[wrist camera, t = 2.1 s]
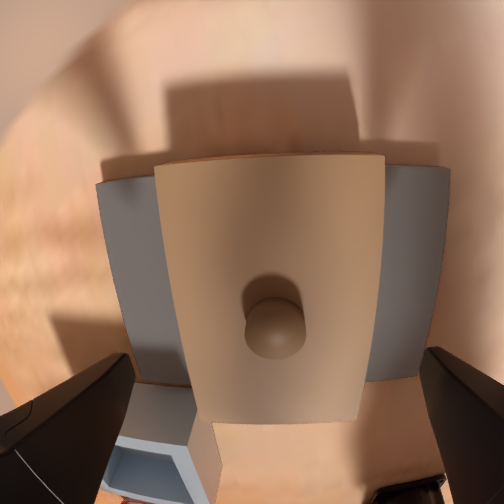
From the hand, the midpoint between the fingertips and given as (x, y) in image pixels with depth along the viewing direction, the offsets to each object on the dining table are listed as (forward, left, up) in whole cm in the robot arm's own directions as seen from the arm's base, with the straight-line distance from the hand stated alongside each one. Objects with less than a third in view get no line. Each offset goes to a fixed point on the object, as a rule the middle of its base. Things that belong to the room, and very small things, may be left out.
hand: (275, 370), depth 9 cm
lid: (0, 0, -4) cm, 4 cm away
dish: (+8, +10, -5) cm, 14 cm away
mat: (0, 0, -5) cm, 5 cm away
